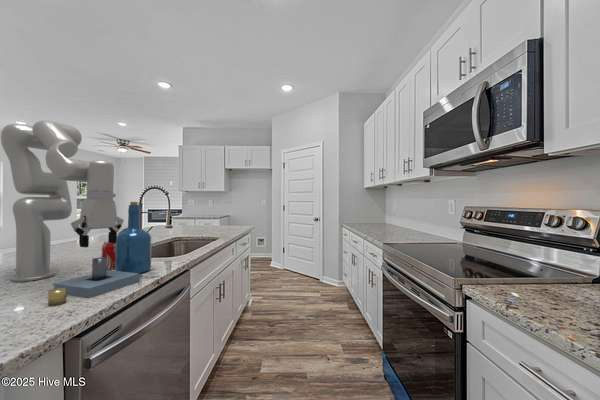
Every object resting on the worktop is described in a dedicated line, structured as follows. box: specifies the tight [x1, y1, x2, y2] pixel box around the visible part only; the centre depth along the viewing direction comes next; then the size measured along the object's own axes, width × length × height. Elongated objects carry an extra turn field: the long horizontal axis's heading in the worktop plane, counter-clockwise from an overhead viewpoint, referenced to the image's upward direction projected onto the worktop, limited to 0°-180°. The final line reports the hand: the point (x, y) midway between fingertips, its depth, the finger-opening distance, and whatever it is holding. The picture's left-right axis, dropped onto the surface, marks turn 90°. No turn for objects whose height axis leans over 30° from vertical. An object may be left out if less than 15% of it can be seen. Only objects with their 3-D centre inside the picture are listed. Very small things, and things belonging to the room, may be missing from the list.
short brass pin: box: [47, 288, 67, 307], centre depth 78 cm, size 4×4×4 cm
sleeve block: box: [53, 270, 141, 299], centre depth 94 cm, size 16×18×3 cm
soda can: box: [101, 240, 115, 271], centre depth 119 cm, size 7×7×12 cm
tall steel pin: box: [91, 256, 107, 281], centre depth 94 cm, size 4×4×10 cm
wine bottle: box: [114, 201, 152, 275], centre depth 114 cm, size 14×13×30 cm
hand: (98, 244), depth 94 cm, fingers open, 9 cm apart
